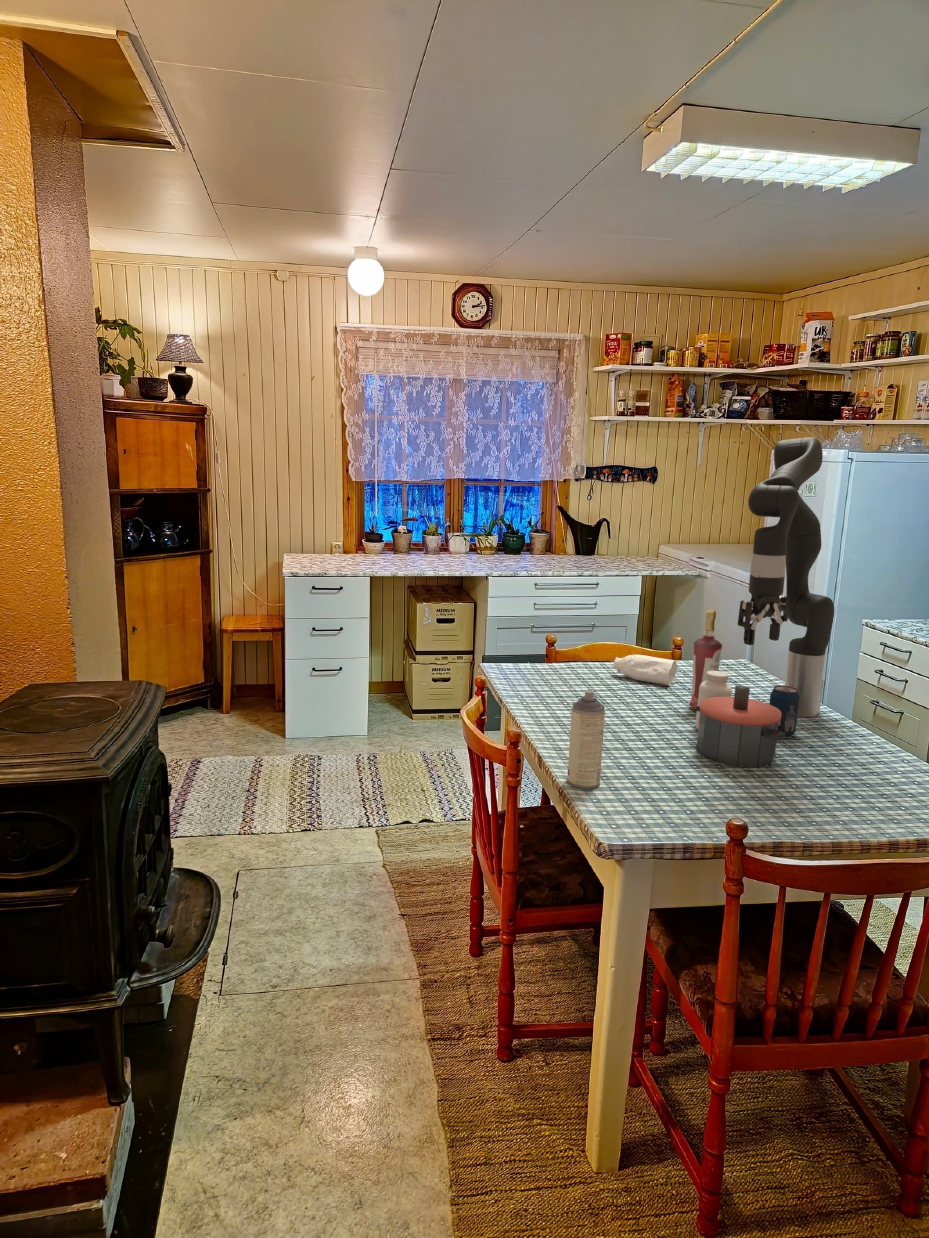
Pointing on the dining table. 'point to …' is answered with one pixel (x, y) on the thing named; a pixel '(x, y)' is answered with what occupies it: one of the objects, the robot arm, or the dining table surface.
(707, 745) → the pot
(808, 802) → the dining table surface
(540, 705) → the dining table surface
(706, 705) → the lid
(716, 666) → the liquor
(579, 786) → the aerosol can
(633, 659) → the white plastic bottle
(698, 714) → the pill bottle
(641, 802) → the dining table surface
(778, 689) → the soda can
